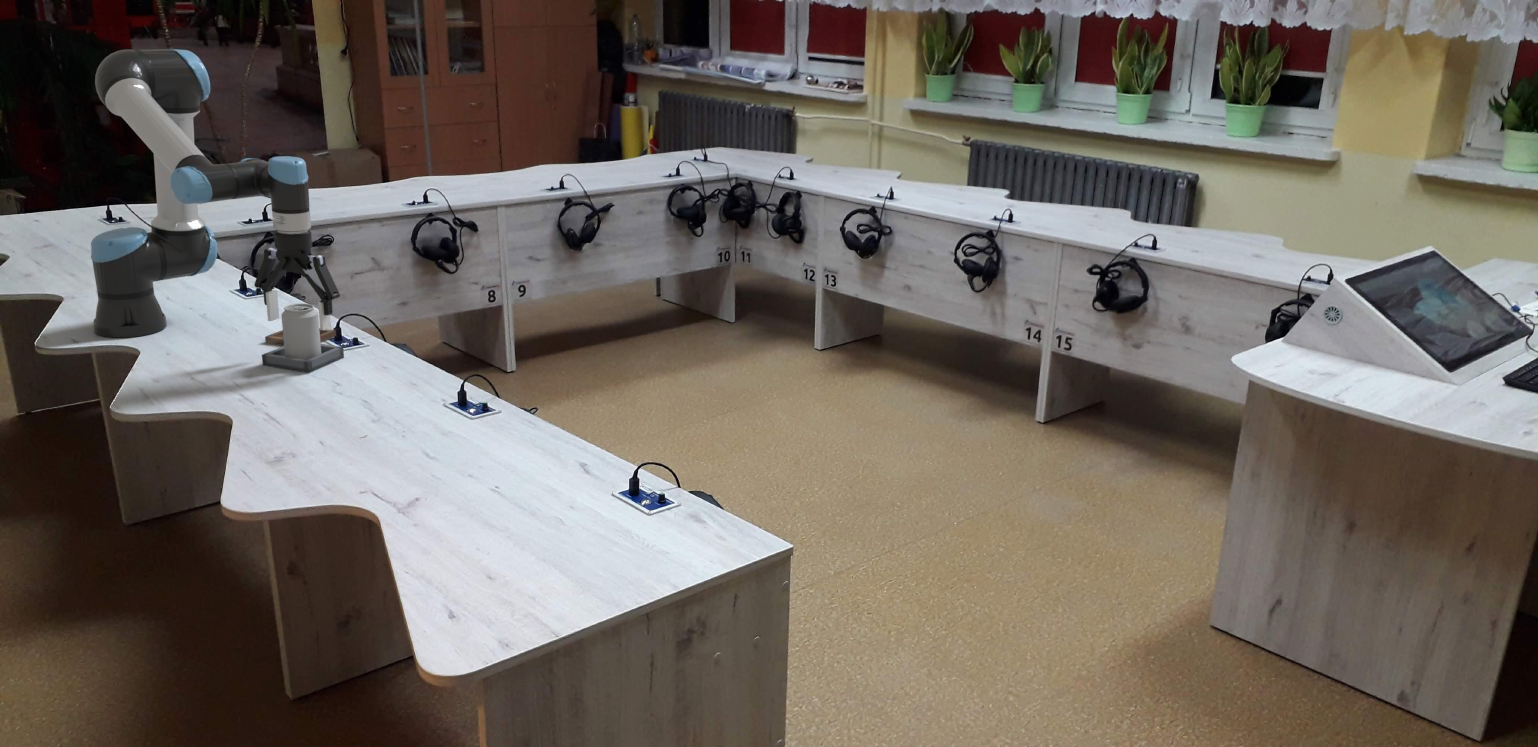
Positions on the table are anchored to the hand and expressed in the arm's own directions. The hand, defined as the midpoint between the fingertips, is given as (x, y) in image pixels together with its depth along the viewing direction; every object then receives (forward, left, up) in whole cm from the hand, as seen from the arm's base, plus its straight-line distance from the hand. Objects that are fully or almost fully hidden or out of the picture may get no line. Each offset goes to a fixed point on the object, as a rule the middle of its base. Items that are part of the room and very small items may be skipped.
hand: (299, 324), depth 247 cm
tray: (0, 0, -9) cm, 9 cm away
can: (0, 0, -8) cm, 8 cm away
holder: (-11, +13, -9) cm, 19 cm away
